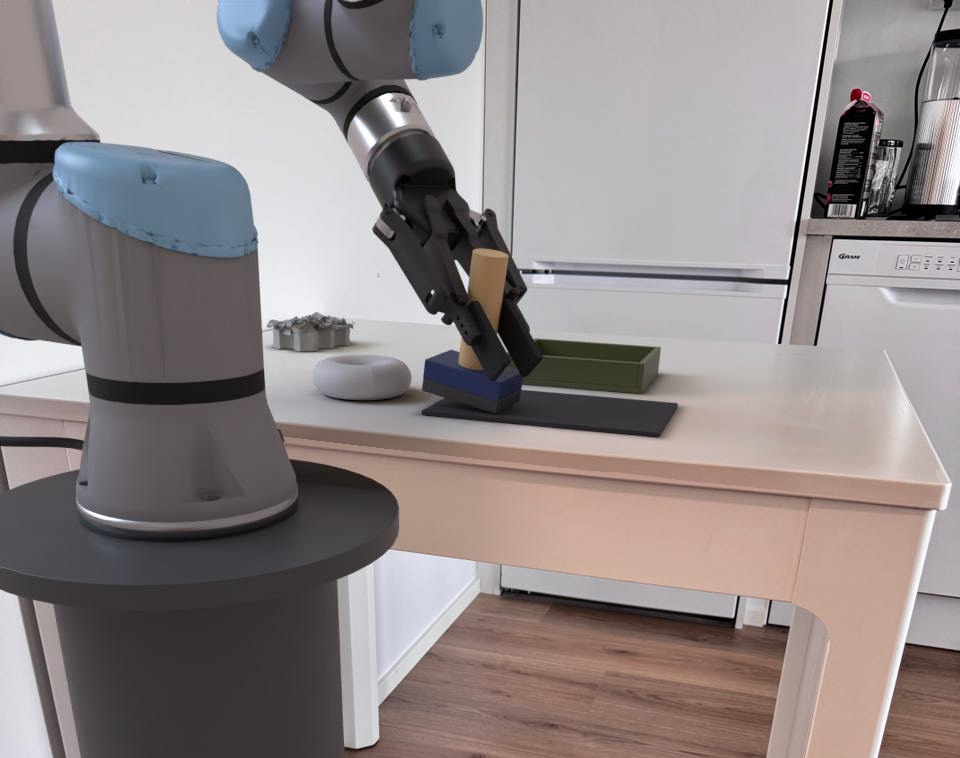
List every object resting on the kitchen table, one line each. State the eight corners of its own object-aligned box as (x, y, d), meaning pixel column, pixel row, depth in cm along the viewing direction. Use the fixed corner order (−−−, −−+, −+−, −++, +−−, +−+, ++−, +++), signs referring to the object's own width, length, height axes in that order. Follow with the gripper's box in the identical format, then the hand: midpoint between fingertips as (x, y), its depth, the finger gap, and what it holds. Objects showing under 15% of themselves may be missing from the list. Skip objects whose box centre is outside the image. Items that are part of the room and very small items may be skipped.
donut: (378, 383, 103) (294, 389, 97) (378, 350, 101) (293, 354, 96) (430, 398, 96) (344, 407, 90) (431, 363, 94) (343, 369, 89)
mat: (421, 414, 88) (421, 410, 88) (467, 389, 100) (467, 385, 100) (658, 437, 82) (659, 432, 82) (677, 406, 94) (677, 402, 94)
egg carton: (305, 353, 119) (303, 319, 117) (262, 347, 123) (260, 314, 121) (360, 344, 127) (359, 312, 125) (319, 338, 131) (317, 307, 129)
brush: (421, 390, 89) (437, 245, 82) (447, 379, 93) (464, 240, 86) (496, 414, 87) (518, 266, 80) (519, 402, 91) (543, 260, 84)
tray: (503, 382, 104) (504, 353, 103) (533, 364, 116) (534, 338, 114) (641, 393, 100) (644, 363, 99) (658, 374, 112) (661, 346, 110)
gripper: (345, 122, 81) (467, 349, 77) (487, 134, 91) (602, 335, 86) (314, 190, 87) (426, 404, 82) (451, 194, 96) (557, 385, 92)
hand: (516, 368), depth 84 cm, fingers closed on brush, 3 cm apart
